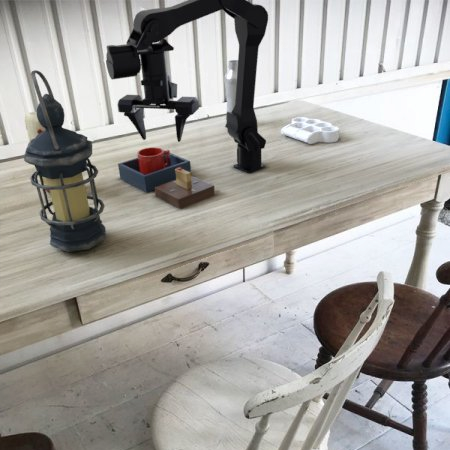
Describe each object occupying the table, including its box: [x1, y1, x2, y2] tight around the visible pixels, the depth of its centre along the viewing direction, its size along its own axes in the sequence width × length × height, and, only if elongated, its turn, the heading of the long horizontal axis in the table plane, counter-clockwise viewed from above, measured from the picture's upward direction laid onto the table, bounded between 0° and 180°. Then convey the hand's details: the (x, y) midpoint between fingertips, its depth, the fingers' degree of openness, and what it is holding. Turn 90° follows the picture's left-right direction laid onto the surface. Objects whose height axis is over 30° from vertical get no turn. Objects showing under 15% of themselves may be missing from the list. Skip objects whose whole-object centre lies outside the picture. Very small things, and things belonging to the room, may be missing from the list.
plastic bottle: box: [223, 59, 238, 123], centre depth 169 cm, size 6×7×20 cm
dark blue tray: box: [117, 152, 192, 193], centre depth 140 cm, size 13×15×4 cm
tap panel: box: [154, 175, 216, 210], centre depth 130 cm, size 10×11×3 cm
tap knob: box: [175, 167, 192, 190], centre depth 128 cm, size 4×1×4 cm, turn 41°
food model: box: [24, 111, 50, 194], centre depth 130 cm, size 10×7×20 cm
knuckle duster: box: [280, 116, 340, 145], centre depth 162 cm, size 3×18×15 cm
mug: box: [137, 147, 171, 175], centre depth 139 cm, size 9×7×6 cm
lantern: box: [23, 69, 107, 253], centre depth 103 cm, size 14×13×35 cm
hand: (161, 140), depth 129 cm, fingers open, 9 cm apart
